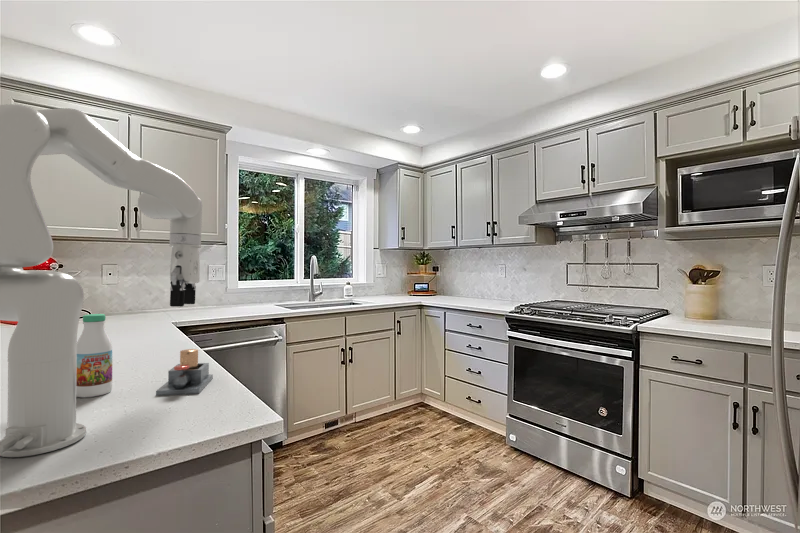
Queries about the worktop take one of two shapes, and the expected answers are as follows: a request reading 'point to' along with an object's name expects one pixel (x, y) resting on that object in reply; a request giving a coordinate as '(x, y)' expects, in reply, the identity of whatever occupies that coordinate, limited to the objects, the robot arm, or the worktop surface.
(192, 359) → the pipe stub
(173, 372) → the block
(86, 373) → the milk bottle
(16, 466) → the worktop surface
